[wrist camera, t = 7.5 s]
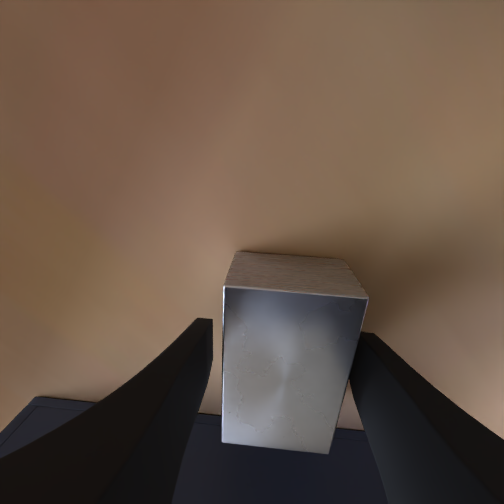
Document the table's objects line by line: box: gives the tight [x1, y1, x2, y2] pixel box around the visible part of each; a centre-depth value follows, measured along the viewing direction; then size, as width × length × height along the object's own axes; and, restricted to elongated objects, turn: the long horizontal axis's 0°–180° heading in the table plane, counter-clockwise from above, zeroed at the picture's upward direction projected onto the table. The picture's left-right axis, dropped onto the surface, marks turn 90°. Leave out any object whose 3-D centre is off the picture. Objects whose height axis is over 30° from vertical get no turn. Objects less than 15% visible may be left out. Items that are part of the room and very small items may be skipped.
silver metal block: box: [221, 251, 369, 454], centre depth 10 cm, size 4×7×3 cm, turn 177°
